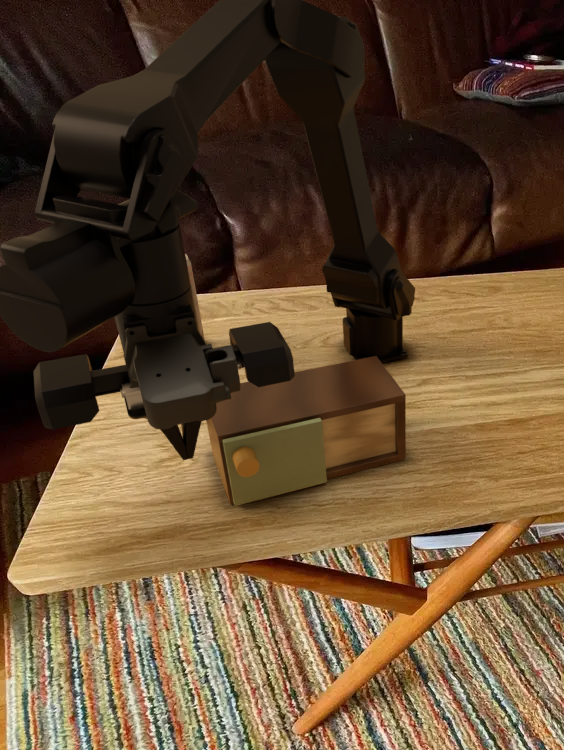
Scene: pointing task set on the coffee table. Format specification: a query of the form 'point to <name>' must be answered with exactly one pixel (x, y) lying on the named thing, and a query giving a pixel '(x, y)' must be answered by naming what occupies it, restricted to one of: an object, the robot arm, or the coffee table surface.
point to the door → (275, 461)
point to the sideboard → (322, 415)
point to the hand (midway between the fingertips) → (187, 456)
